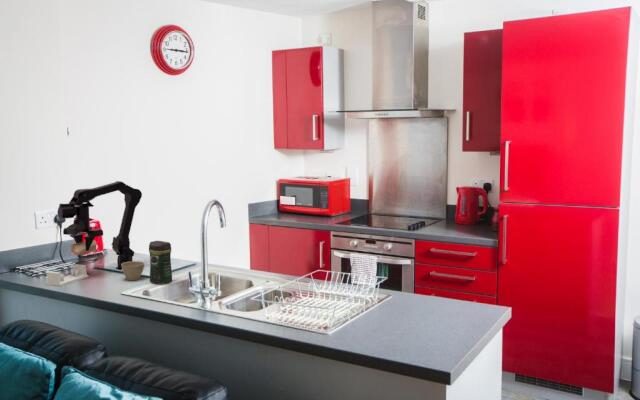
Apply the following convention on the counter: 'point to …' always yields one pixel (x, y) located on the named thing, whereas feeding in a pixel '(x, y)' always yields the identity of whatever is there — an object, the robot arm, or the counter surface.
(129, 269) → the flower pot
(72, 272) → the stand
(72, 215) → the robot arm
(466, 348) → the counter surface
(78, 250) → the tan wooden bar
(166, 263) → the coffee jar
